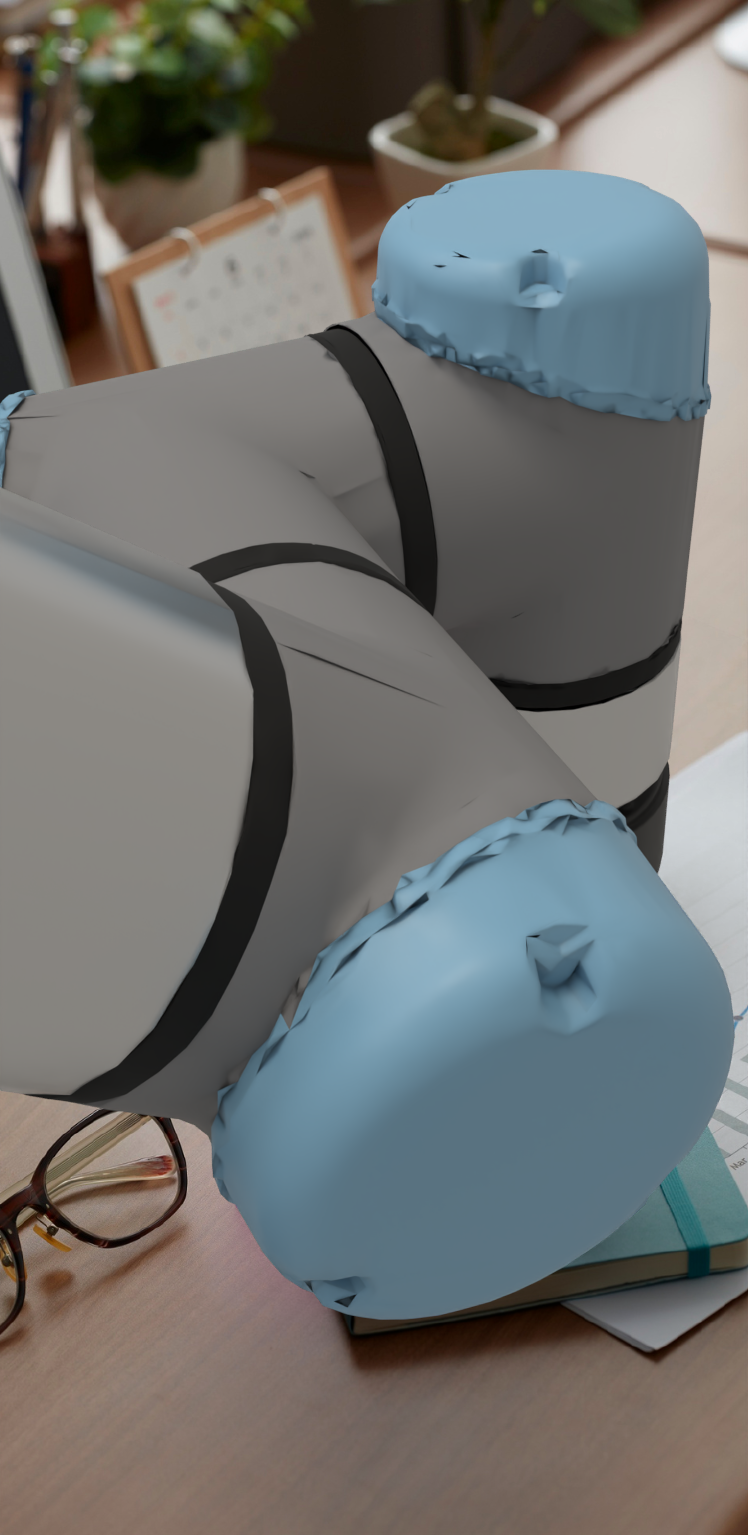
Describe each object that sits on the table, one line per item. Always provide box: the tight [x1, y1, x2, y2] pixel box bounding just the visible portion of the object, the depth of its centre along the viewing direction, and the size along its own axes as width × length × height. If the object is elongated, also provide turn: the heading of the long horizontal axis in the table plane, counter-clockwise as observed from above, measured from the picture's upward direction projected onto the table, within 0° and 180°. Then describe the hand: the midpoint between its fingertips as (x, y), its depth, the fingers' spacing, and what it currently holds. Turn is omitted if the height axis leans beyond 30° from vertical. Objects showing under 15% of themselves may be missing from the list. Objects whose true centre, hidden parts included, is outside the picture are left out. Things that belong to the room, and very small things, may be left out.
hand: (531, 1218), depth 56 cm, fingers closed
